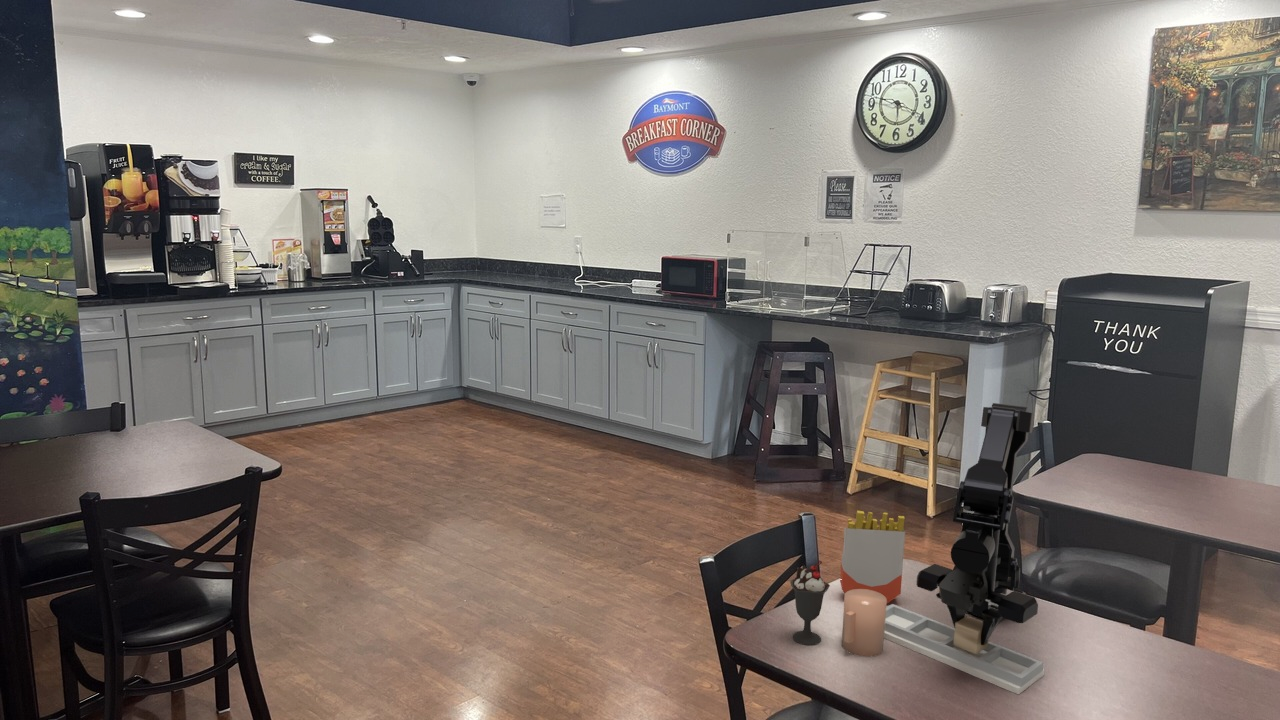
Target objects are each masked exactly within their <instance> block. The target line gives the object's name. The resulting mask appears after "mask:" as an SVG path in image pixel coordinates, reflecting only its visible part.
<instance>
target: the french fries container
mask: <svg viewBox="0 0 1280 720" xmlns="http://www.w3.org/2000/svg"><path fill="white" fill-rule="evenodd" d="M873 515H874V513H873V511H872V512H871V511H868V512H867V516H865V512H864V510H863V511H862V510H856V515H855V516H856V517H855V522H854V521H853V519H852V518H847V527H846V526H844V531H843V532H844V533H843V548H842V553H841V554H842V555H841V561H840V574H839V575H840V577H839V582H840V586H841V590H842V592H844V594H845V593H846V592H847V591H849V590H853V589H868V590H873V591H876V592H878V593H881V594H882V595H884V596H885V597H886V599H887V604H889V603H891V601H893V600H894V599H895V598H897V597H898V596H900V595H901V593H902V592H901V591H902V583H903V582H902V579H903V565H904V553H905V539H906V530H905V528H904V526H905V519H906V518H905V515H898V516H897V522H895V520H894V518H893V517H892V518H891V517H889V516H888V515H889V513H888V512H883V513H882V516H881V517H882V518H881V519H880V520H879V521H878V520H877V519H876V518H873ZM888 517H889V518H888ZM878 523H879V525H878ZM840 579H842V580H840Z"/></svg>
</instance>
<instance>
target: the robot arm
mask: <svg viewBox="0 0 1280 720" xmlns="http://www.w3.org/2000/svg"><path fill="white" fill-rule="evenodd" d="M981 414H982V415H981V425H980V427H983V428H985V433H984V438H983V442H982V446H981V450H980V454H979V458H978V461H977V463H975V464H974V465H973V466H971V467H969V468H968V469H967V471H966V474H965V478H964V480H961V481H960V482H959V486H958V490H957V491H958V492H957V496H956V501H955V502H956V503H955V506H954V507H955V508H954V512H953V517H952V522H954V523H960V524H962V528H961V530H960V532H959V535H958V536H957V538H956V539H955V541H954V543H953V545H952V547H951V550H950V557H951V562H952V563H953V565H954V567H953V568H952V569H951V568H949V567H945V566H942V565H940V564H938V563H934V564H931V565H929V566H927V567H925V568H924V569H922V570H920V571H919V572H918V574H917V576H916V587H918V588H921V589H923V590H926V591H928V592H934V591H935V590H936V589H938V593H936V596H935V597H936V598H937V599H940V601H941V603H942V604H945V605H946V607H947V609H948V611H949V614H950V617H951V621H952V623H953V628H955V623H956V622H958V621H959V620H961V619H963V618H964V617H966V613H967V614H969V615H973V616H975V617H978V618H981V619H983V620H982V621H983V626H982V633H981V645H983V646H984V645H985V644H986V643H987V641H989V639H990V638H991V636H992V634H993V633H994V631H995V630H996V627H997V626H998V624H999V622H1001V621H1003V620H1004V619H1005V620H1009V621H1011V622H1013V623H1016V624H1024V623H1026V622H1027V621H1028V620H1030V619H1032V618H1033V617H1034V616H1037V614H1038V611H1039V610H1038V609H1039V603H1038V602H1037V599H1036V597H1035V596H1031V595H1029V594H1026V593H1023V592H1019V591H1017V590H1014V589H1019V587H1020V577H1021V576H1020V575H1021V574H1020V573H1021V568H1020V566H1019V564H1018V558H1015V557H1014V556H1015V550H1016V549H1015V545H1014V543H1013V542H1012V539H1011V538H1010V536H1009V533H1008V531H1009V523H1010V520H1011V515H1012V508H1013V503H1014V495H1013V488H1014V481H1015V472H1016V463H1017V455H1018V453H1019V452H1020V451H1021V450H1022V448H1023V447H1024V446H1025V445H1026V443H1027V442H1028V441H1029V433H1030V434H1032V433H1033V429H1034V423H1035V414H1034V413H1033V412H1029V407H1028V406H1024V405H1023V406H1022V405H1013V404H1006V403H1005V404H1004V403H998V402H997V403H996V402H993V403H992V404H991V406H989V407H988V406H983V409H982V413H981ZM962 508H963V510H964V511H961V510H962ZM1008 590H1009V591H1010V592H1009V593H1007V591H1008Z"/></svg>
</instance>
